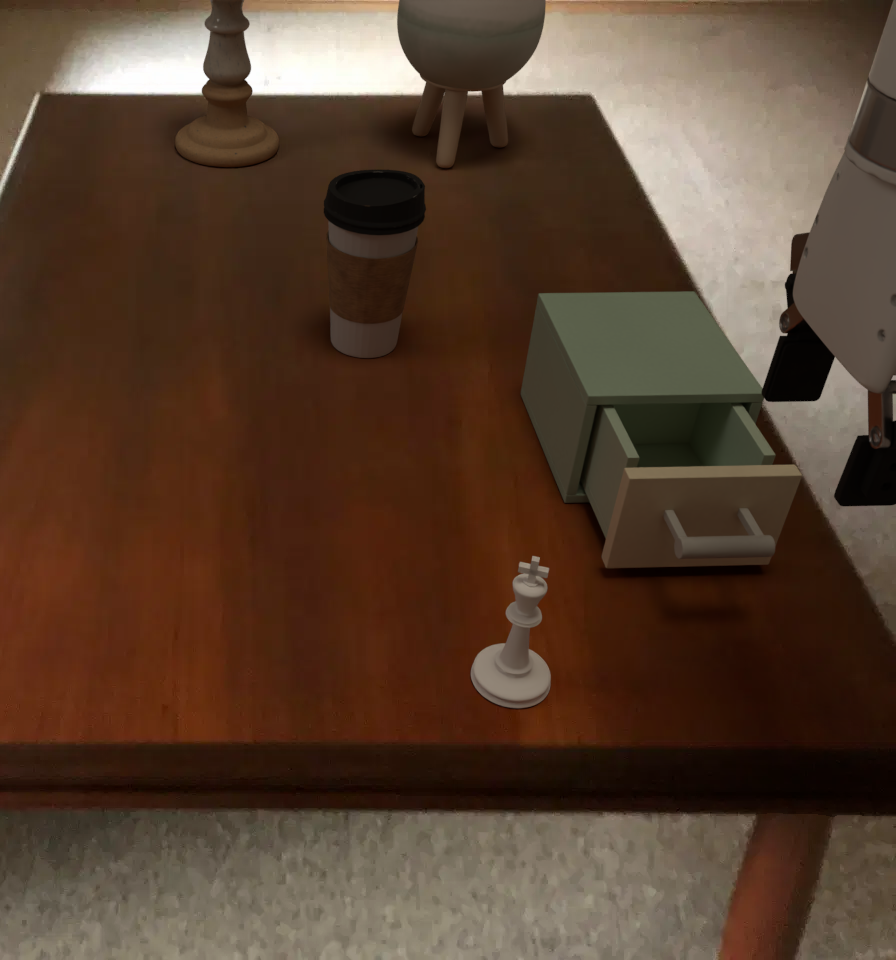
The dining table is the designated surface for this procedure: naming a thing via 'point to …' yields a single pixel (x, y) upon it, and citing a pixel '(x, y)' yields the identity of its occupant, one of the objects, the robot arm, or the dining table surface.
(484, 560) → the dining table surface
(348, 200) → the coffee cup
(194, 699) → the dining table surface
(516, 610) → the chess piece
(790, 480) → the drawer
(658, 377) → the cabinet
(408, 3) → the planter
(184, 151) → the candle holder
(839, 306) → the robot arm
